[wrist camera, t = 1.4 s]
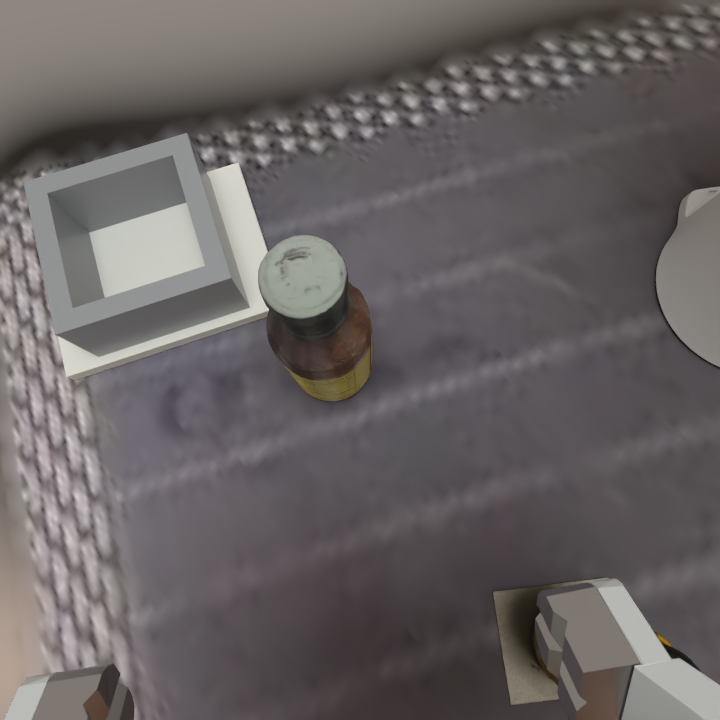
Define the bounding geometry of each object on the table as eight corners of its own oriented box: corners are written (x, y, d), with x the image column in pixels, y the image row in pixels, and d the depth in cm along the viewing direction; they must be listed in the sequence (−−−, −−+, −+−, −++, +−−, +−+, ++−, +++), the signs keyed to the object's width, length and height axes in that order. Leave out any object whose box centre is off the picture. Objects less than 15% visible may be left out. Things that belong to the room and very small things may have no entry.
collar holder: (241, 170, 47) (219, 114, 40) (287, 310, 44) (272, 275, 37) (43, 232, 46) (-15, 184, 39) (74, 380, 43) (17, 357, 36)
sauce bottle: (308, 321, 44) (261, 183, 24) (381, 341, 43) (391, 216, 24) (283, 396, 42) (211, 312, 23) (358, 418, 42) (350, 351, 22)
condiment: (631, 688, 37) (753, 778, 25) (510, 703, 36) (576, 800, 25) (606, 576, 38) (710, 611, 27) (491, 590, 38) (545, 631, 27)
